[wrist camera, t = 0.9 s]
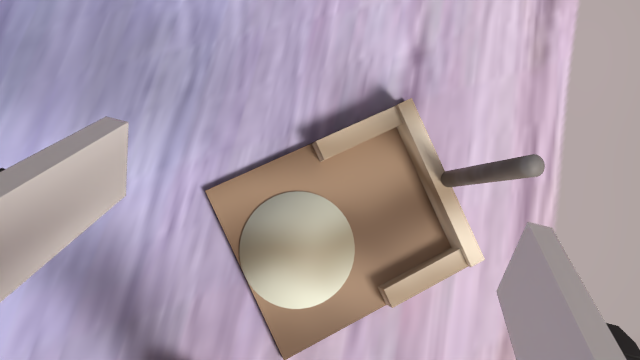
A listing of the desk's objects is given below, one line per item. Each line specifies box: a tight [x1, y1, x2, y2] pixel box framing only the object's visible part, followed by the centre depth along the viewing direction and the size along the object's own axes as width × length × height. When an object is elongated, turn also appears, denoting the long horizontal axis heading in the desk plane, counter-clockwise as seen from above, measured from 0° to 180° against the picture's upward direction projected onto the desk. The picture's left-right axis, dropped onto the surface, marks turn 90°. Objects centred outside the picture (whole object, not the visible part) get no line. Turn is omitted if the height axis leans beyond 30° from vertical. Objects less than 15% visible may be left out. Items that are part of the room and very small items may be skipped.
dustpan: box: [205, 98, 545, 360], centre depth 26 cm, size 11×14×10 cm
